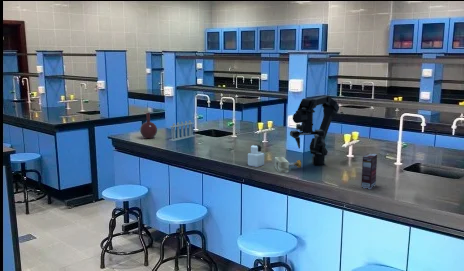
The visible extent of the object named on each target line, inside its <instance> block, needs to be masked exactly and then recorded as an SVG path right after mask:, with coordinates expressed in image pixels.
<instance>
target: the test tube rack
mask: <svg viewBox="0 0 464 271" xmlns="http://www.w3.org/2000/svg"><path fill="white" fill-rule="evenodd" d="M194 124H195V122H192V120H188V121H187V120H185V121H184V122H183V121H180V122H176V123H175V122H173V123H172V125H169V126H168V128H171V138H170V139H168V141H171V142H175V141H181V140H183V139H184V140H185V139H188V138H194V137H196V135H195V134H193V125H194ZM184 132H185V133H184ZM176 136H177V137H176Z"/></svg>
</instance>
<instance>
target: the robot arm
mask: <svg viewBox="0 0 464 271" xmlns="http://www.w3.org/2000/svg"><path fill="white" fill-rule="evenodd" d="M317 106H321V107H322V108H323V109H322V110H323V114H324V115H323V118H322V121H321V124H320V126H319V128H318V129H315V130H313V126H314V123H313V122H314V121H313V120H314V119H313V118H314V113H315V112H316V111H315V110H314V109H315V108H317ZM339 110H340V106H339V104H338V102H337V101H336V100H334V99H333V98H332V96H330V95H322V96H318V97H314V98H304V97H303V98H302V99H301V100H300V103H299V105H298V107H297V110H295V113H293V115H292V120H293V121H292V122H294V123H295V126H296V127H295V128H296V130H295V129H294V130H290V131H289V136H290V137H292V138H293V139H294V140H295V142H296V145H297V148H298V149H300V148H301V137H300V136H311V135H313V136H314V137H313V138H312V139H311V142H310V144H309V151H310V154H311V155H312V156H311V164H312V165H313V166H316V167H317V166H319V167H320V166H326V163H325V162H326V161H325V158H326V156H327V155H328V153H329V152H328V150H327V147H326V145H327V144H326V141H325V140H326V137H327V134H328V131H329V128H330V125H331V122H332V121H333V118H334V117H335V116H337V114H338V112H339Z"/></svg>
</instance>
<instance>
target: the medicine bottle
mask: <svg viewBox="0 0 464 271" xmlns="http://www.w3.org/2000/svg"><path fill="white" fill-rule="evenodd" d="M247 165H248V166H250V167H256V168H259V167H261V166H264V165H265V153H264V152H262V146H261V145H260V144H252V145H251V146H250V152H248V153H247Z"/></svg>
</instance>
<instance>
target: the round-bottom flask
mask: <svg viewBox="0 0 464 271" xmlns="http://www.w3.org/2000/svg"><path fill="white" fill-rule="evenodd" d="M145 114H146V121H145V122H143V123H142V124H141V126H140V129H139V130H140V135H141V136H142V137H143V138H145V139H152V138H154V137H155V136H156V135H158V134H157V133H158V127H157V125H156V124H155V123H154V122H152V121H151V115H150V114H151V113H150V112H146V113H145Z"/></svg>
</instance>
